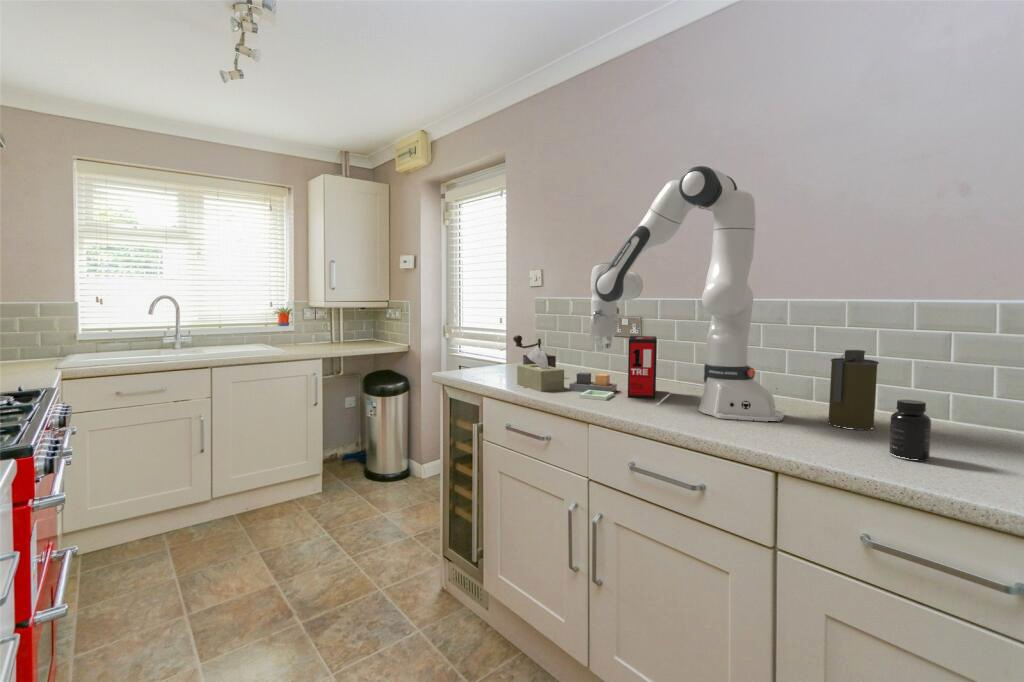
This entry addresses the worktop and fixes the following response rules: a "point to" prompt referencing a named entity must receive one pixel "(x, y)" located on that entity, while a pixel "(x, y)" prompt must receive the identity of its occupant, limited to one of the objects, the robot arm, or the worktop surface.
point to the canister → (853, 391)
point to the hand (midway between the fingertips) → (604, 349)
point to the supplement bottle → (910, 430)
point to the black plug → (584, 378)
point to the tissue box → (540, 373)
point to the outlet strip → (592, 387)
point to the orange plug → (602, 380)
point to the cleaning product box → (642, 367)
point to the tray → (596, 395)
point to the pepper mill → (518, 340)
